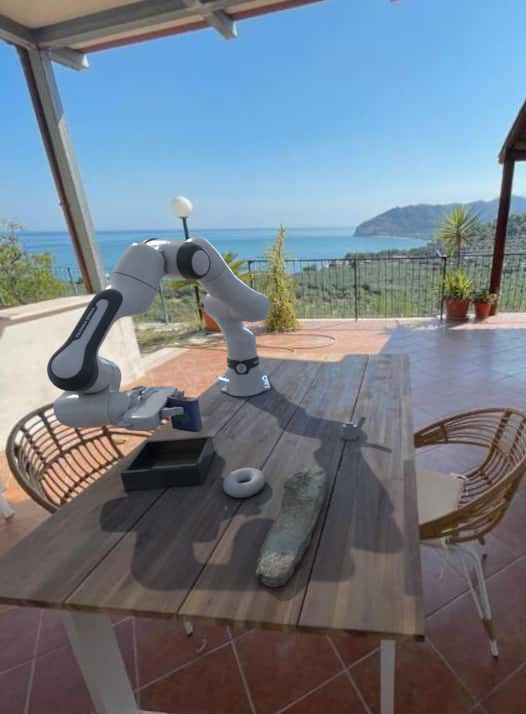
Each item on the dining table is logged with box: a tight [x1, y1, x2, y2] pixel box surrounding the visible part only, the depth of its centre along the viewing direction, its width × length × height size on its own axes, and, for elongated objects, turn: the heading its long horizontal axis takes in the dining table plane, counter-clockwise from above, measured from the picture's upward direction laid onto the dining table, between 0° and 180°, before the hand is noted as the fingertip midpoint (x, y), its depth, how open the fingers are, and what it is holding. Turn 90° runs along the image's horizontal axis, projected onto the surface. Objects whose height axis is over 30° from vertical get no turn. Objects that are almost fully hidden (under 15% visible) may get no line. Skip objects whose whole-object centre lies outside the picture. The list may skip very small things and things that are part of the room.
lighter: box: [342, 413, 367, 441], centre depth 118 cm, size 7×2×8 cm, turn 87°
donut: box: [222, 467, 266, 499], centre depth 95 cm, size 10×4×10 cm
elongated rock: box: [255, 465, 329, 588], centre depth 84 cm, size 35×5×10 cm
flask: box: [167, 390, 204, 433], centre depth 100 cm, size 9×3×11 cm, turn 71°
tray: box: [119, 435, 216, 491], centre depth 102 cm, size 16×18×5 cm
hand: (186, 405), depth 100 cm, fingers closed on flask, 4 cm apart
